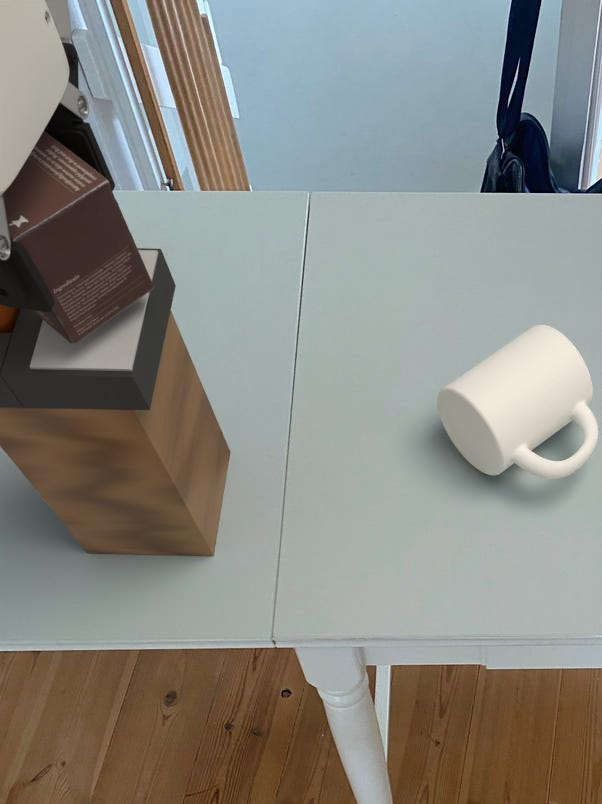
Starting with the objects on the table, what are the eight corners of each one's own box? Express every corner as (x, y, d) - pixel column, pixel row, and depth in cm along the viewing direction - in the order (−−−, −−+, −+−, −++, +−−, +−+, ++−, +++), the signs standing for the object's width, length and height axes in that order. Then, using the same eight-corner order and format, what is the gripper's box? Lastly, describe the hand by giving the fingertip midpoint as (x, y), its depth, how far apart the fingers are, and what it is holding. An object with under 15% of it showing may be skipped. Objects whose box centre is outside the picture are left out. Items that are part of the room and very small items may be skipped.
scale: (-49, 406, 53) (-80, 370, 50) (-9, 281, 57) (-35, 241, 54) (150, 410, 53) (131, 374, 50) (176, 285, 57) (160, 245, 54)
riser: (87, 553, 69) (-33, 407, 53) (111, 448, 73) (6, 282, 57) (213, 556, 69) (133, 410, 53) (230, 451, 73) (160, 285, 57)
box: (158, 291, 51) (112, 179, 44) (73, 350, 49) (11, 243, 42) (94, 238, 53) (39, 123, 46) (9, 293, 51) (-61, 181, 44)
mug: (437, 433, 74) (434, 369, 67) (524, 372, 77) (530, 304, 70) (533, 526, 71) (540, 468, 63) (621, 458, 73) (637, 396, 66)
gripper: (-132, -276, 35) (54, 128, 51) (-382, -18, 29) (-77, 356, 45) (43, -255, 35) (177, 146, 51) (-168, 13, 28) (63, 380, 44)
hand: (58, 243), depth 48 cm, fingers closed on box, 8 cm apart
